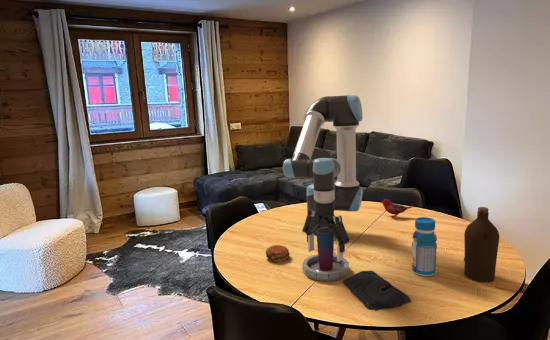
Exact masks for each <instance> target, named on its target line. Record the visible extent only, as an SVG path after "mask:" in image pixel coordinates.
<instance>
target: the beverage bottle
mask: <svg viewBox="0 0 550 340" xmlns="http://www.w3.org/2000/svg"><path fill="white" fill-rule="evenodd" d="M414 227H415V231H414V232H413V233H412V239H413V240H412V242H411V247H412V255H411V256H412V260H411V261H412V262H411V270H412V273H414V274H416V275H417V276H420V277H432V276H434V275H435V274H436V272H437V269H436V266H437V249H438V244H437V241H438V238H437V234H436V233H435V229H436V220H435V219H434V218H431V217H427V216H426V217H425V216H422V217H421V216H420V217H416V218H415V220H414Z"/></svg>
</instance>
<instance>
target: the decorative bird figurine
mask: <svg viewBox="0 0 550 340" xmlns="http://www.w3.org/2000/svg"><path fill="white" fill-rule="evenodd" d="M380 204H382V205H383V207H384V210H385V211H386V212H387V213H389V214H390V215H391V216H390V215H389V216H388V217H390V218H397V217H399V215H400V214H402V213H404V212H405V211H406V210H409V209H411V208H414V207H416V205H411V206H405V205H402V204H398V203H394V202H392V201H391V200H389V199H387V198H384V199H383V200H382V201H381V202H380Z"/></svg>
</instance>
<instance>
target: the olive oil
mask: <svg viewBox="0 0 550 340" xmlns="http://www.w3.org/2000/svg"><path fill="white" fill-rule="evenodd" d="M499 244H500V233H499V229H498V228H497V227H496V226H495V225H494V224H493V223H492V221H491V220H490V219H489V208H488V207H484V206H480V207H477V215H476V218H475V219H474V220H473V221H472V222H470V223H469V224H468V225H467V226H466V228H465V230H464V257H463V262H464V270H463V272H464V276H465V277H466V278H467V279H469V280H470V281H474V282H479V283H491V282H493V281H494V280H495V278H496V277H495V276H496V269H497V259H498V252H499V251H498V250H499Z"/></svg>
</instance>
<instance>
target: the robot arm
mask: <svg viewBox="0 0 550 340" xmlns="http://www.w3.org/2000/svg"><path fill="white" fill-rule="evenodd" d="M363 117H364V116H363V107H362V102H361V99H360V97H359V96H357V95H351V94H348V95H347V94H346V95H331V96H329V95H328V96H327V95H326V96H323V97H320V98H318V99H316V100H315V101H313V103H311V104H310V105H309V106H308V108H307V109H306V111H305V113H304V116H303V121H304V122H303V125H302V128H301V131H300V134H299V137H298V139H297V143H296V146H295V149H294V152H293V154H292V157H291V158H286V159H285V160H284V161H283V164H282V172H283V175H284V177H286V178H290V179H311V180H313V183H312V184H310V185H308V186H307V187H306V210H307V211H306V212H307V213H306V218H305V221H304V225H303V228H302V230H301V231H302V233H305V235H306V242H307V244H308V245H307V247H308V248H307V250H308V253H312V251H315V235H316V230H317V229H318V228H322V227H328V228H329V229H330V230H331V231H332V233H333V234H334V239H335V240H336V241H337V242H338V243H336V255H337V261H341V260H343V258H344V253H345V251H346V244H348V243H350V241H351V240H350V237H349V235H348V233H347V230H346V228H345V225H344V223H343V218H342V217H343V216H342V215H335V211H337V212H339V211H340V212H349V213H350V212H358V211H359V210H360V208H361V206H362V201H363V194H364V191H363V190H364V189H363V187H362V186H360V182H359V180H357V175H356V174H357V163H356V162H357V154H356V153H357V152H356V151H357V146H356V145H357V143H356V142H357V139H356V138H357V137H356V133H357V132H356V129H357V128H358V127H359V126H360V122H362V121H363ZM325 123H332V126H333V128H334V129H335V130H336V158H334V157H318V158H314V159H312V156H313V154H314V150H315V148H316V147H315V146H316V143H317V140H318V138H319V134H320V131H321V127H323V126H324V124H325ZM336 178H337V180H336V181H335V179H336Z"/></svg>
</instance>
